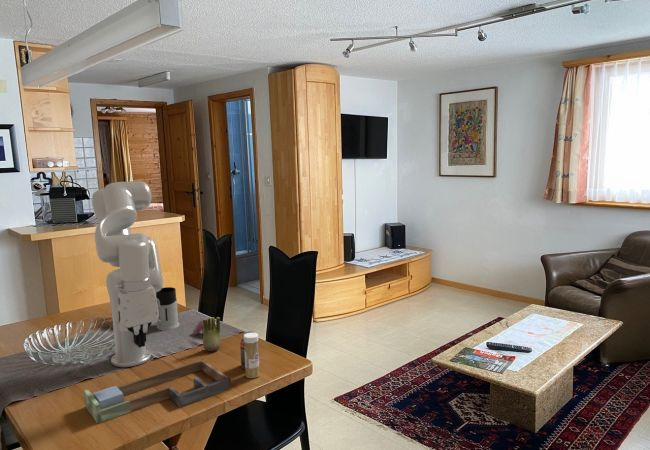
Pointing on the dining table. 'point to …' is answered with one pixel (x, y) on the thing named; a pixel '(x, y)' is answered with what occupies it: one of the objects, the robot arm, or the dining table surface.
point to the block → (109, 397)
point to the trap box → (161, 391)
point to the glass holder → (167, 309)
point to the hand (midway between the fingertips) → (140, 345)
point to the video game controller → (200, 327)
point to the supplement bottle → (243, 350)
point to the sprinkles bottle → (251, 355)
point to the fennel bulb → (212, 334)
